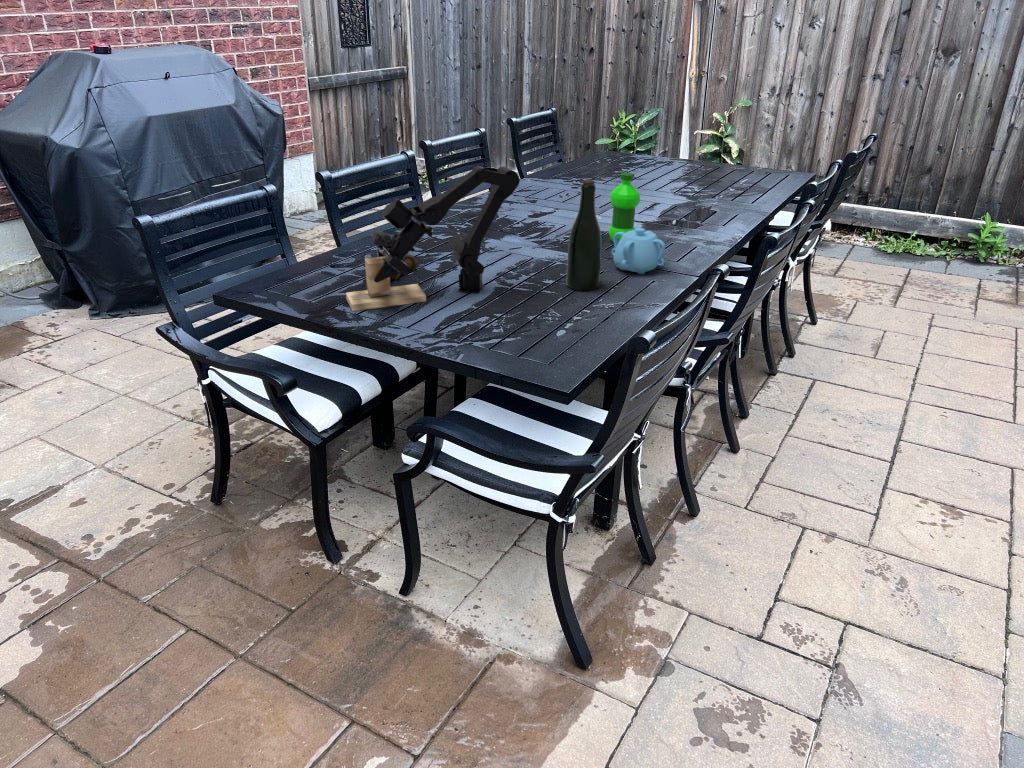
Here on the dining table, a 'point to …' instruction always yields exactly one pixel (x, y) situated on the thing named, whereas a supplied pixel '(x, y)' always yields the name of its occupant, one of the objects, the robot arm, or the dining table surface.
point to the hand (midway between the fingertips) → (373, 278)
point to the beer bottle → (585, 244)
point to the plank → (386, 297)
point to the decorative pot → (638, 251)
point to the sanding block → (371, 272)
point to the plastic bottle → (623, 206)
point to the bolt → (411, 263)
